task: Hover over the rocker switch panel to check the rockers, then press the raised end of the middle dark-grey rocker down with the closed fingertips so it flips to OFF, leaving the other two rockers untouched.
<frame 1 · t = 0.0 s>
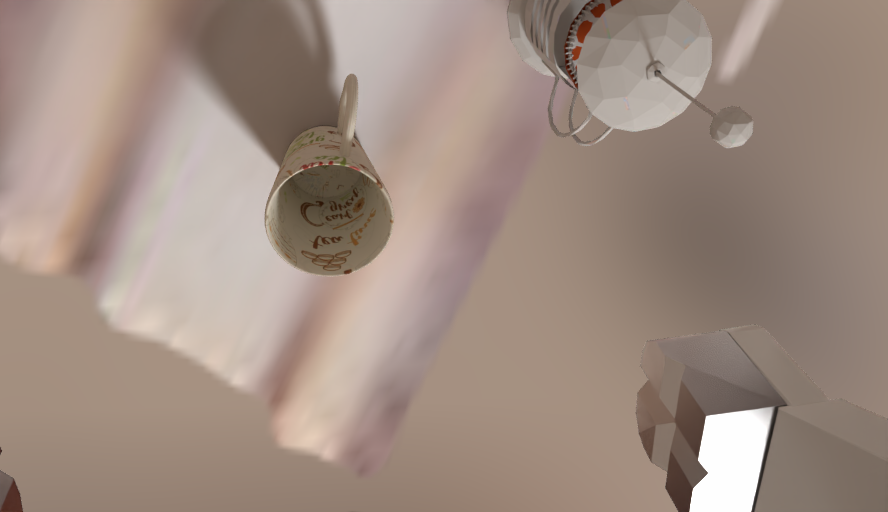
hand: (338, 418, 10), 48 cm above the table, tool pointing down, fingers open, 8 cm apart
mug: (329, 135, 59), on the table
french press: (566, 23, 57), on the table
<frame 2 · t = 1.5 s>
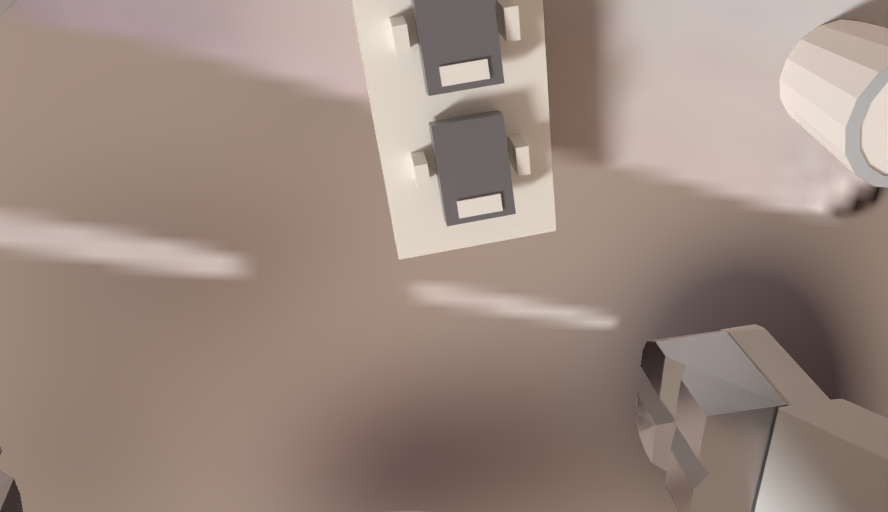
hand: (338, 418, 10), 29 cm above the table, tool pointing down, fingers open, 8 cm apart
rocker switch panel: (440, 5, 36), on the table
shot glass: (828, 72, 41), on the table
rocker 1: (472, 168, 35), point 5 cm above the table, hinge at 12.0°
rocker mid: (456, 32, 32), point 5 cm above the table, hinge at 12.0°
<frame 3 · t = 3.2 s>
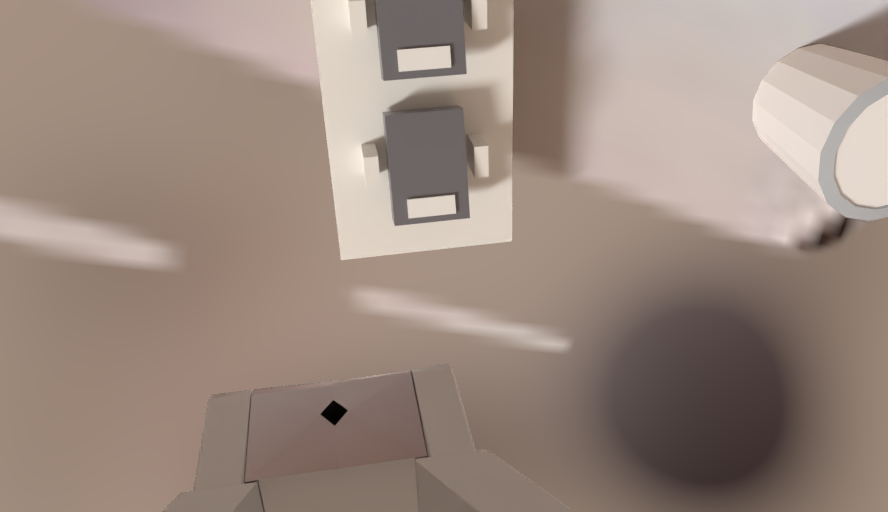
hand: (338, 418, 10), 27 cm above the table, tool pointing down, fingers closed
shot glass: (802, 98, 40), on the table
rocker 1: (426, 165, 33), point 5 cm above the table, hinge at 12.0°
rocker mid: (419, 14, 30), point 5 cm above the table, hinge at 12.0°
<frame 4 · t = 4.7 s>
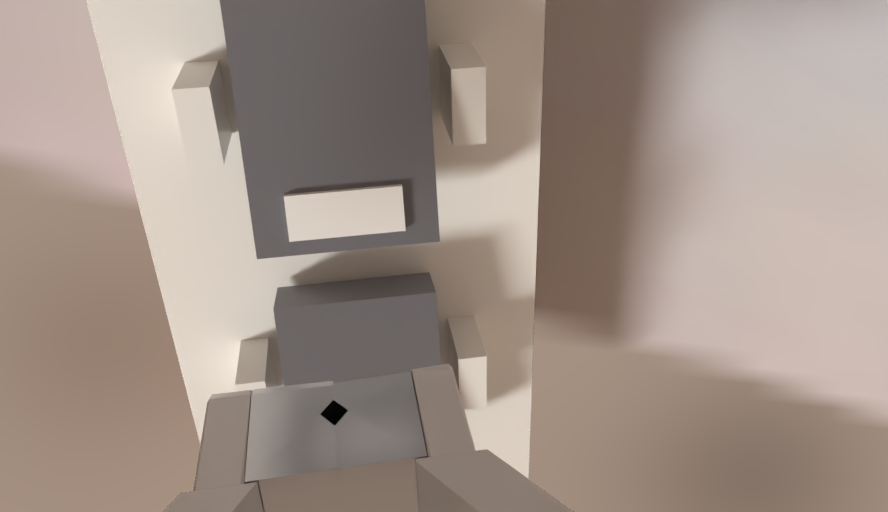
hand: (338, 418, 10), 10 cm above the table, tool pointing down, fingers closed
rocker switch panel: (330, 39, 18), on the table
rocker 1: (365, 391, 17), point 5 cm above the table, hinge at 12.0°
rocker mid: (335, 114, 13), point 5 cm above the table, hinge at 12.0°
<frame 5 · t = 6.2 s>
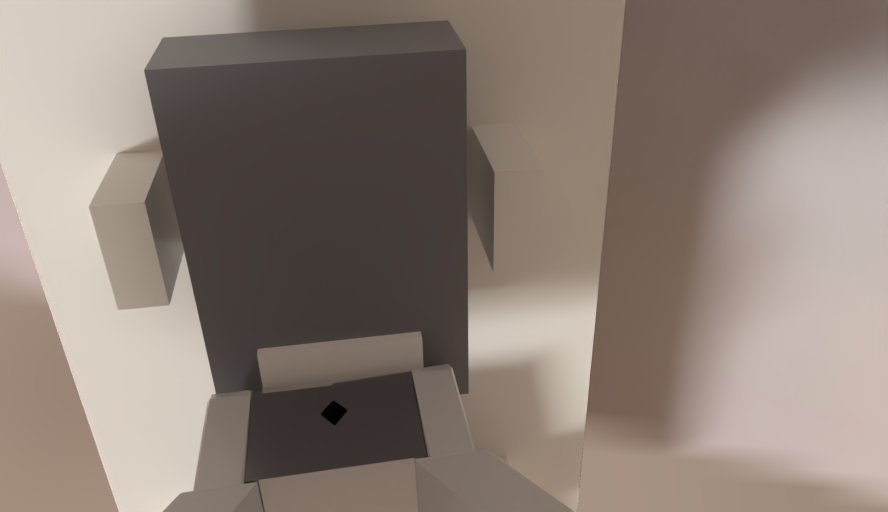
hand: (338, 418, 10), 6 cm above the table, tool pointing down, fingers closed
rocker switch panel: (322, 99, 14), on the table
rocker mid: (329, 234, 9), point 5 cm above the table, hinge at 0.0°, touching gripper
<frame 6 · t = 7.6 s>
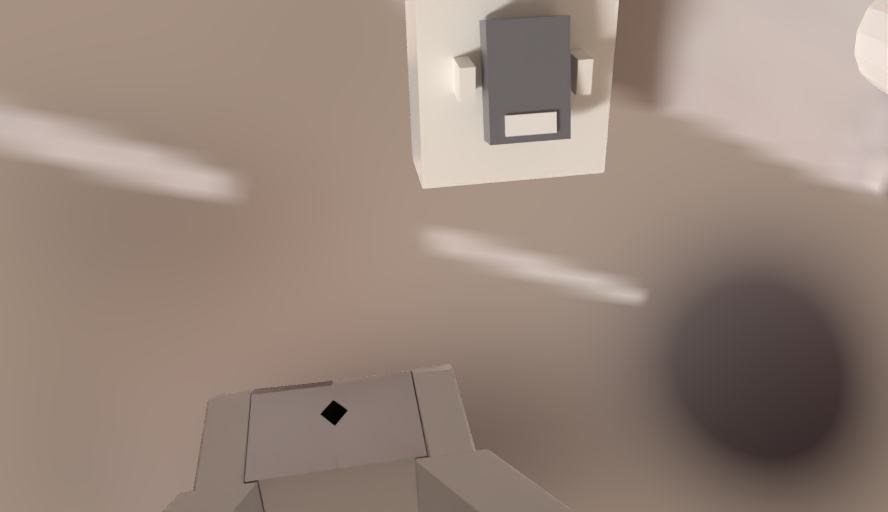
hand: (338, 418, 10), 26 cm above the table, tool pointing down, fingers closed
rocker 1: (526, 80, 30), point 5 cm above the table, hinge at 12.0°
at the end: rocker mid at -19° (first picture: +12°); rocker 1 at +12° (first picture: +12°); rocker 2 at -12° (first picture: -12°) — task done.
